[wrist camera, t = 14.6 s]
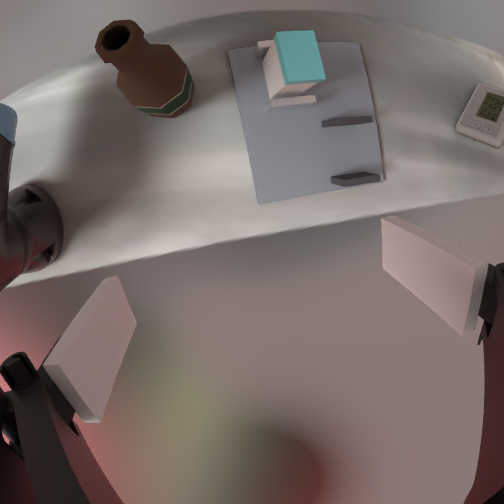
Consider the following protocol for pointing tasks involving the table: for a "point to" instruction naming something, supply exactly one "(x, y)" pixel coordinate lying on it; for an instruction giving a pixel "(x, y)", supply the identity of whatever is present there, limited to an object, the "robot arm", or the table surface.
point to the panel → (307, 126)
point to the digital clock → (484, 116)
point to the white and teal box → (292, 64)
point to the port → (281, 103)
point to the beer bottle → (146, 70)
